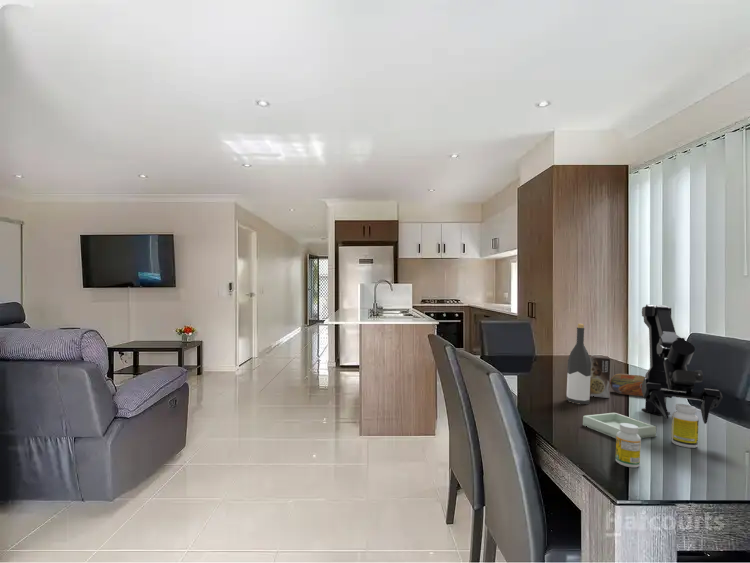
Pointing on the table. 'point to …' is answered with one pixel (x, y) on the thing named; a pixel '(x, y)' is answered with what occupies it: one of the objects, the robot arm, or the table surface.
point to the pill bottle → (685, 426)
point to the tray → (617, 424)
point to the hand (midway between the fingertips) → (686, 420)
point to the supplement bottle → (628, 445)
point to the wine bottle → (579, 371)
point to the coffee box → (600, 376)
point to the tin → (627, 384)
